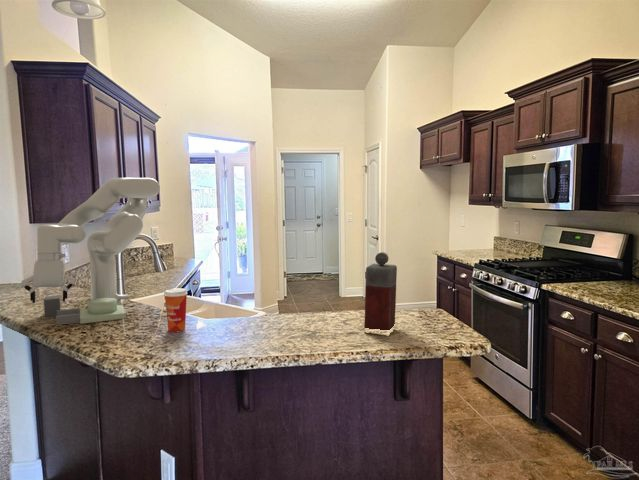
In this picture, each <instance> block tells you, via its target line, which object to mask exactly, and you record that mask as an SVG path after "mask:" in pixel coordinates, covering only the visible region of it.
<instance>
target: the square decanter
mask: <svg viewBox="0 0 639 480" xmlns="http://www.w3.org/2000/svg"><path fill="white" fill-rule="evenodd" d="M374 259H375V262H376V263H375V262H374V263H371V264H370V265H368V266H367V267H366V268H365V284H364V285H365V290H364V291H365V292H364V297H365V298H364V328H369V329H380V330H390V329H391V328H392V327H393V326H394V324H395V325H396V309H397V308H396V305H397V304H396V303H397V275H398V274H397V272H398V269H397V265H395V264H389V263H388V262H389V256H388V254H387V253H386V252H384V251H383V252H382V251H381V252H379V253H377V254H376V255H375V258H374ZM387 263H388V264H387Z"/></svg>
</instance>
